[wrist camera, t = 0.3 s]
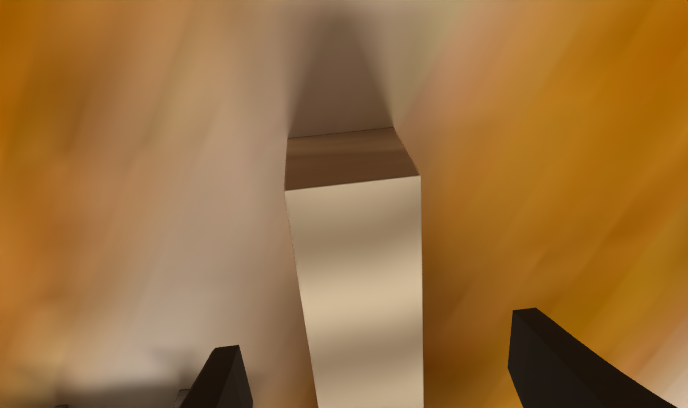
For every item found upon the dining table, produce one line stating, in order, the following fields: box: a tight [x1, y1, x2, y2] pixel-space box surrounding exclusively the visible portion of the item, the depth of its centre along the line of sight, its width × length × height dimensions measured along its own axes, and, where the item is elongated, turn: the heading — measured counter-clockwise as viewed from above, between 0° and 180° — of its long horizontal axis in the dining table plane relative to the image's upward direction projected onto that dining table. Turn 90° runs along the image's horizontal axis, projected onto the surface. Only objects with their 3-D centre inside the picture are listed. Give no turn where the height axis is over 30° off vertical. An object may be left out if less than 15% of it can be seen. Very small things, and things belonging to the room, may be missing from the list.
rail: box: [284, 127, 424, 408], centre depth 21 cm, size 16×4×5 cm, turn 5°
